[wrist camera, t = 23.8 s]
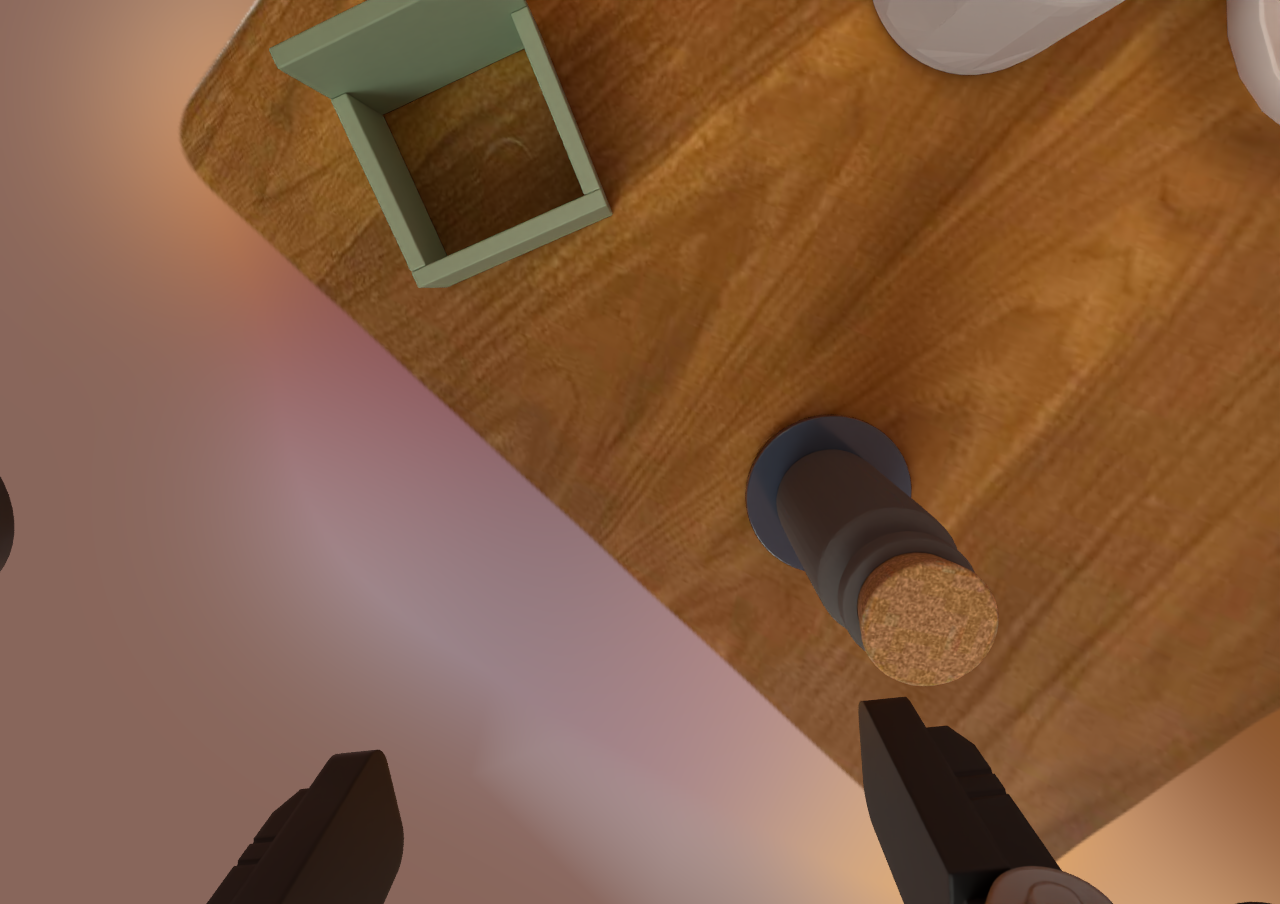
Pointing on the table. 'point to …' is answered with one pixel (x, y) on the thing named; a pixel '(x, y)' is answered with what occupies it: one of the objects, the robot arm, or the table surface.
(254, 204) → the table surface
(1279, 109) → the bowl
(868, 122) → the table surface
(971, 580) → the bottle
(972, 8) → the mug
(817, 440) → the coaster
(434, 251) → the holder
